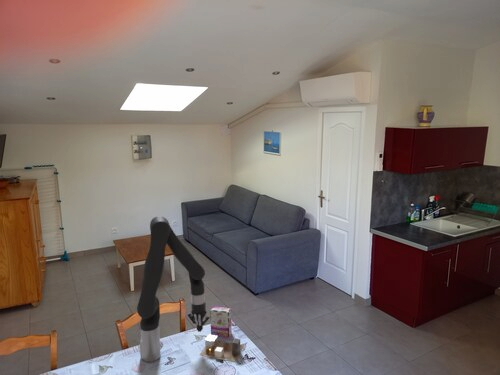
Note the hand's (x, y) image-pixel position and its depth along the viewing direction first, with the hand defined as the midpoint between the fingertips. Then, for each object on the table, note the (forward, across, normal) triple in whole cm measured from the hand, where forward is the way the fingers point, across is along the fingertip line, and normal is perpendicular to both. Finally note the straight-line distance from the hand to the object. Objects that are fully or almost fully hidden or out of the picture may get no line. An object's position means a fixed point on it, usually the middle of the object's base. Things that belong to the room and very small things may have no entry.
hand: (199, 330), depth 187 cm
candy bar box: (+11, +6, +14) cm, 19 cm away
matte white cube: (+9, +12, -4) cm, 16 cm away
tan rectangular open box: (+10, +12, 0) cm, 16 cm away
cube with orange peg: (+9, +6, -1) cm, 11 cm away
